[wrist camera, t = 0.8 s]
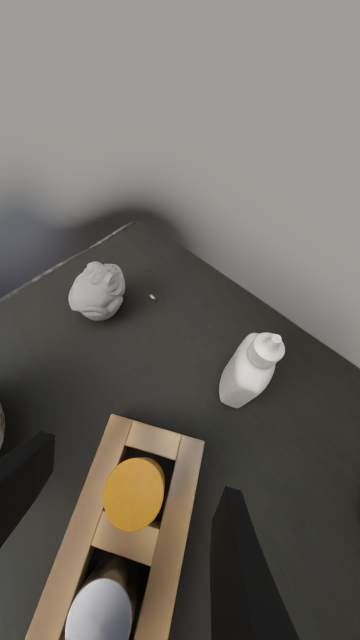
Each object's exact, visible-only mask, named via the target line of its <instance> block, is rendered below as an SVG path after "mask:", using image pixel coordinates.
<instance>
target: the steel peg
mask: <svg viewBox="0 0 360 640" xmlns="http://www.w3.org/2000/svg"><path fill="white" fill-rule="evenodd" d="M139 587H140V576H139V571H138V567H137V565H136V563H135V561H134V560H131V559H128V558H125V557H122V556H119V555H117V554H114V553H111V552H110V553H108V554H106V555H105V556H104V557H102V558H101V559H100V561H99V562H98V563H97V564H96V566H95V567H94V569H93V571H92V572H91V574H90V575H89V577H88V578H87V580H86V581H85V583H84V584H83V586H82V588H81V589H80V591H79V592H78V594H77V595H76V597H75V599H74V600H73V602H72V604H71V607H70V609H69V612H68V616H67V620H66V626H65V640H128V639H129V636H130V632H131V627H132V622H133V617H134V612H135V608H136V603H137V598H138V593H139Z"/></svg>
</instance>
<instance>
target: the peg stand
mask: <svg viewBox="0 0 360 640" xmlns="http://www.w3.org/2000/svg"><path fill="white" fill-rule="evenodd" d="M204 444H205V441H203V440H199V439H196V438H193V437H189V436H186V435H182V434H179V433H176V432H172V431H169V430H165V429H162V428H159V427H155V426H152V425H148V424H145V423H142V422H138V421H135V420H132V419H128V418H125V417H121V416H118V415H115V414H111V416H110V419H109V421H108V424H107V426H106V429H105V432H104V434H103V437H102V439H101V442H100V445H99V447H98V450H97V452H96V455H95V458H94V460H93V463H92V465H91V468H90V471H89V473H88V476H87V478H86V481H85V484H84V486H83V489H82V491H81V494H80V497H79V499H78V502H77V504H76V507H75V510H74V512H73V515H72V517H71V520H70V523H69V525H68V528H67V530H66V533H65V536H64V538H63V541H62V543H61V546H60V549H59V551H58V554H57V556H56V559H55V562H54V564H53V567H52V569H51V572H50V575H49V577H48V580H47V582H46V585H45V588H44V590H43V593H42V595H41V598H40V601H39V603H38V606H37V608H36V611H35V614H34V616H33V619H32V621H31V624H30V627H29V629H28V632H27V634H26V637H25V640H65V626H66V620H67V616H68V612H69V609H70V607H71V604H72V602H73V600H74V599H75V597H76V595H77V594H78V592H79V591H80V589H81V588H82V585H83V582H84V579H85V576H86V573H87V570H88V567H89V564H90V561H91V558H92V555H93V552H94V549H95V547H96V548H99V549H102V550H105V551H108V552H111V553H114V554H117V555H119V556H122V557H125V558H128V559H131V560H134V561H137V562H139V563H142V564H145V565H148V566H150V569H149V573H148V577H147V582H146V586H145V590H144V594H143V599H142V603H141V607H140V611H139V616H138V620H137V624H136V628H135V633H134V637H133V640H168V636H169V631H170V626H171V620H172V615H173V610H174V604H175V599H176V594H177V588H178V583H179V578H180V572H181V567H182V562H183V556H184V551H185V546H186V540H187V535H188V530H189V524H190V519H191V514H192V508H193V503H194V498H195V492H196V487H197V482H198V476H199V471H200V466H201V460H202V455H203V450H204ZM128 446H129V447H132V448H135V449H139V450H142V451H145V452H148V453H152V454H155V455H158V456H161V457H165V458H168V459H171V460H175V463H174V467H173V471H172V476H171V480H170V484H169V488H168V493H167V497H166V501H165V505H164V510H163V514H162V518H161V522H159V521H156V520H153V521H152V522H151V523H150V524H149V525H148V526H146V527H145V528H143V529H141V530H138V531H134V532H127V531H123V530H120V529H118V528H117V527H115V526H114V525H113V524H112V523H111V522H110V520H109V519H108V517H107V515H106V512H105V509H104V504H103V492H104V487H105V484H106V481H107V479H108V477H109V475H110V473H111V472H112V471H113V469H114V468H115V467H116V466H117V465H118V464H120V463H121V462H123V461H124V458H125V455H126V452H127V449H128Z"/></svg>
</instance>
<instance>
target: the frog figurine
mask: <svg viewBox="0 0 360 640" xmlns="http://www.w3.org/2000/svg"><path fill="white" fill-rule="evenodd" d="M124 291H125V281H124V277H123V274H122V271H121V269H120V268H119V267H118V266H117V265H115V264H105V265H103V264H101V263H99V262H91V263H89V264H88V265H87V268H86V269H84V271H83V273H81V274H80V275H79V276H78V277H77V278H76V279H75V281H74V284H73V287H72V288H71V290H70V293H69V304H70V307H71V309H72V310H73V311H79V312H81V313H82V314H83V315H84V316H85V317H87V318H89V319H91V320H95V321H102V320H106V319H109V318H110V317H112V316H113V315H114V314H115V313H116V312H117V311H118V308H120V305H121V304H122V302H123V297H122V295H123V294H124Z"/></svg>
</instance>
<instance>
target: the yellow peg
mask: <svg viewBox="0 0 360 640" xmlns="http://www.w3.org/2000/svg"><path fill="white" fill-rule="evenodd" d="M164 487H165V476H164V472H163V469H162V467H161V466H160V464H159V463H158V462H157V461H156V460H154V459H152V458H149V457H138V458H130V459H127V460H125V461H123V462H121V463H120V464H118V465H117V466H116V467H115V468H114V469H113V471H112V472H111V473H110V475H109V477H108V479H107V481H106V484H105V487H104V492H103V504H104V509H105V512H106V515H107V517H108V519H109V520H110V522H111V523H112V524H113V525H114V526H115V527H117V528H118V529H120V530H123V531H127V532H134V531H138V530H141V529H143V528H145V527H146V526H148V525H149V524H150V523H151V522H152V521H153V520H154V519H155V518H156V516H157V515H158V513H159V511H160V509H161V506H162V503H163V498H164Z"/></svg>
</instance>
